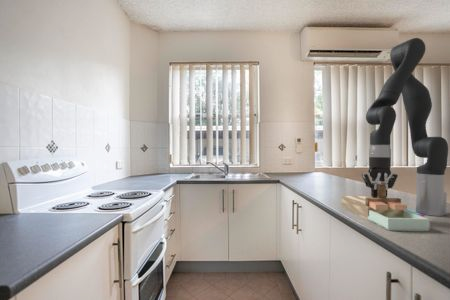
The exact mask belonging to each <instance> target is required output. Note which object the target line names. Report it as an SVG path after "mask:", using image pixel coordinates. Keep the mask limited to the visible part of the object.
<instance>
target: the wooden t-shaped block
mask: <svg viewBox="0 0 450 300" xmlns="http://www.w3.org/2000/svg"><path fill="white" fill-rule="evenodd" d="M376 190H377V198H373V197H372V196H371V195H370V196H371V198H366V201H365V205H366V206H369V201H377V202H383V203H385V204H387V202H401V203H402V199H401V198H398V197H386V185H382V184H381V183H379V184H378V185H377V189H376Z"/></svg>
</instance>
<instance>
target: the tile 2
mask: <svg viewBox="0 0 450 300" xmlns="http://www.w3.org/2000/svg"><path fill="white" fill-rule="evenodd" d="M387 205H388V207H389V208H391V209H394V210H404V211H408V210H407V209H408V208H407V207H408V204H406V203H403V202H402V201H401V202H387Z"/></svg>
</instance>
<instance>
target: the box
mask: <svg viewBox="0 0 450 300" xmlns="http://www.w3.org/2000/svg"><path fill="white" fill-rule="evenodd" d="M367 221H369V222H371V223H373V224H375V225H377V226H379V227H381V228H383V229H384V230H387V231H397V232H398V231H400V232H401V231H404V232H405V231H407V232H408V231H409V232H429V231H430V219H429V218H427V217H425V216H420V215H417V214H415V213H413V212H410V211H408V210H404V211H403V217H396V216H383V215H381V214H378V213H376V212H374V211H372V210H369V216H368V220H367Z"/></svg>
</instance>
